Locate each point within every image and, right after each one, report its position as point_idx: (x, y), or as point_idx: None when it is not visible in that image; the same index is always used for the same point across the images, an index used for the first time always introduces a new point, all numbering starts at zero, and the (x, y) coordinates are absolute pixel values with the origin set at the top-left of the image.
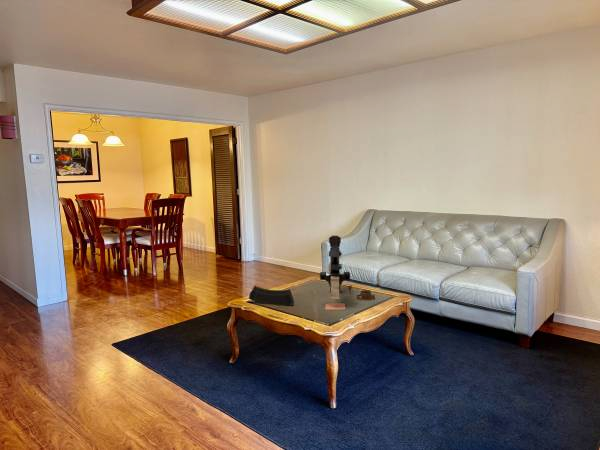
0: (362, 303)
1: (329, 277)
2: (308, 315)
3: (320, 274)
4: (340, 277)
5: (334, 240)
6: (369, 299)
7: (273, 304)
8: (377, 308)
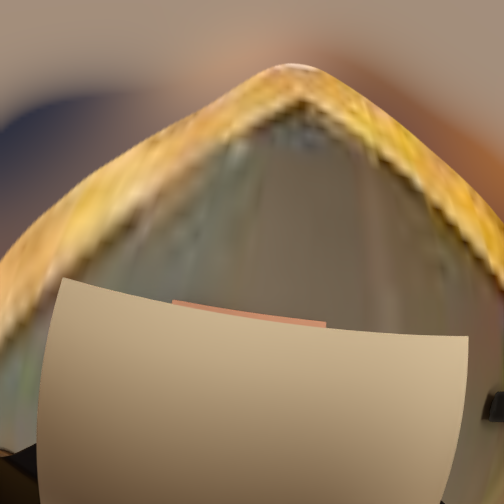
0: None
1: None
2: (415, 228)
3: None
4: (22, 499)
5: None
6: (4, 451)
7: None
8: (3, 292)
